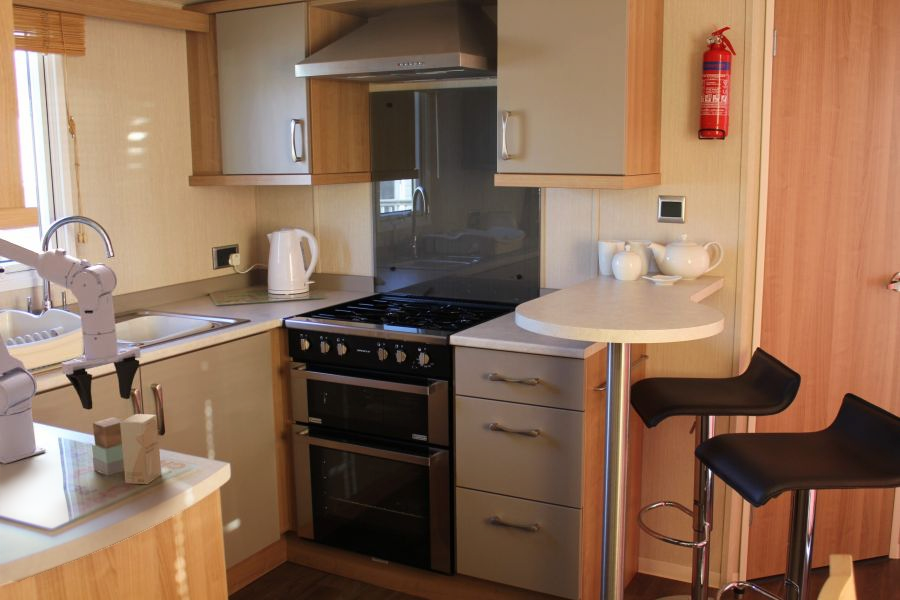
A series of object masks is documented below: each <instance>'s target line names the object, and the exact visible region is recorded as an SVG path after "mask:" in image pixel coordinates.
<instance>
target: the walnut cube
mask: <svg viewBox="0 0 900 600" xmlns="http://www.w3.org/2000/svg"><path fill="white" fill-rule="evenodd" d="M124 420H125V419H124ZM124 420H123V419H121V418H117V417H114V416H112V417H109V418H105V419H101V420H99V421H94V422H92V427H93V428H92V429H93V438H94V444H96V445H98V446H101V447H104V448H107V449H108V448H111V447H114V446H117V445H120V444H122V439H121V428H120V422H122V421H124Z"/></svg>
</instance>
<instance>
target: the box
mask: <svg viewBox="0 0 900 600" xmlns="http://www.w3.org/2000/svg"><path fill="white" fill-rule="evenodd" d="M120 428H121V439H122V450H123V461H124V471H123V472H124V479H125V483H126V484H135V485H137V484H138V485H140V484H141V485H148V484H150V483H151V482H152V481H154V480H156V479H157V478H158V477H160V476H161V475H162V464H161V455H160V454H161V452H160V451H161V450H160V441H159V431H158V419H157V414H148V413H146V414H143V413H135V414H133V415H131V416H129V417H127V418H125V419H124V421H122V422H120Z"/></svg>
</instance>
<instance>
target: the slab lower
mask: <svg viewBox="0 0 900 600" xmlns="http://www.w3.org/2000/svg"><path fill="white" fill-rule="evenodd" d="M92 464H93V470H94V469H95V470H94V471H96V470H97V471H96V472H98V471H100V472H102V473H101V474H103V473H104V474H103V475H105V474H106V476H107V475H110V476H112V474H113V475H115V473H116V474H118V472H119V473H121V472H125V471H124V461H123V459H121V460H117V461H114V462H111V463H108V464H107V463H104V462H102V461H100V460H98V459H95V458H93V457H92ZM100 472H99V473H100Z"/></svg>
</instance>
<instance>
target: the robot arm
mask: <svg viewBox="0 0 900 600" xmlns="http://www.w3.org/2000/svg"><path fill="white" fill-rule="evenodd" d="M0 257H2V258H5V259H8V260H11V261H14V262H16V263H19V264H22V265H25V266H27V267H31V268H33V269H35V270H36V272H37V273H36V274H37V275H38V276H39V278H41V279H43V280H45V281H48V282H51V284H55V285H58V286H60V287H62V288H64V289H67V290H69V291H71V293H72V294H73V297H75V298H76V300H77V304H78V307H79V313H80V322H81V323H80V324H81V331H82V341H83V349H84V355H82V356H79V357H77V358H74V359H71V360H68V361H64V362H60V364H61V372H62V374H65V376H66V378H67V379H68V381H69V382H70V383H71V385H72V386H73V387H74V389H75V392H76V394H77V396H78V398H79V400H80V404H81V406H82V409H85V410H89V411H90V410H92V409H93V397H92V381H93V374H91V373H88V370H89V369H94V368H97V367H101V366H106V365H110V364H113V366H114V368H115V372H116V376H117V380H118V390H119V391H118V392H119V395H120V398H122V399H125V400H128V399H130V398H131V392H132V386H133V382H134V379H135V376H136V373H137V371H138V369H139V368H140V367H139V366H140V360H138V359H139V358H141V348H140V347H138V346H134V345H133V346H130V347H125V348H124V347H123V348H119V347H118V339H117V338H118V337H117V329H116V327H117V326H116V320H115V310H114V300H113V299H114V298H113V291H114V290H115V289H116V287H117V283H118V279H117V275H116V273H115V271H114V270H113V269H112V268H111V267H109V266H107V265H106V264H105V263H96V264H93V265H92V264H91V263H90V261H89V260H87V259H82V260H81V259H80V258H77V257H74V256H72V255H70V254H68V253H67V250H66V249H64V248H56V249H55V248H52V249H49V250H46V251H43V250H42V249H39V248H37V247H36V246H33V245H31V244H29V243H27V242H25V241H22V240H21V239H18V238H16V237H14V236H12V235H9V234H7V233H5V232H3V231H2V230H1V229H0ZM37 391H38V385H37V380H36V378H35V377H34V375H33V374H32V373H31V372H30V371H28V369H27V368H26V366H25V364H24V362H23V361H22V360H20V359H18V358H16V357H14V356H12V355H11V354H10V352H9V350H8V348H7V345H6V343H5V341H4V339H3V337H2V335H1V333H0V463H2V464H9V463H12V462H15V461H18V460H19V461H20V460H22V459H25V458H28V457H31V456H35V455H38V454H43V453H45V452H46V449H45V448H43V447H41V446H39V445H37V443H36V436H35V428H34V420H33V411H32V404H33V400H32V399H33V398H34V397H35V395H36V393H37Z"/></svg>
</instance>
